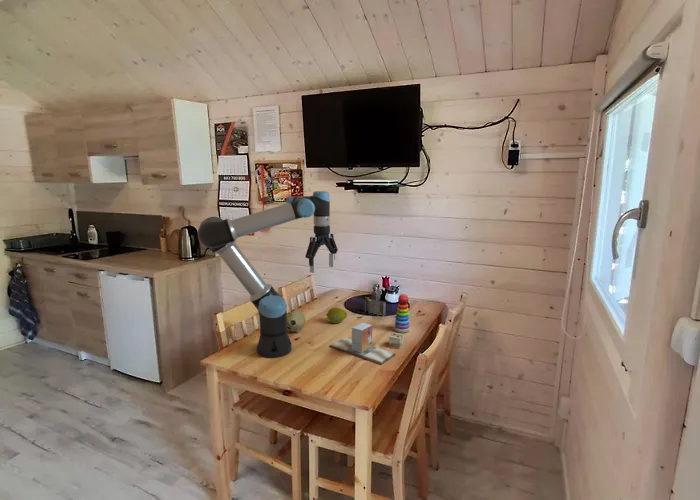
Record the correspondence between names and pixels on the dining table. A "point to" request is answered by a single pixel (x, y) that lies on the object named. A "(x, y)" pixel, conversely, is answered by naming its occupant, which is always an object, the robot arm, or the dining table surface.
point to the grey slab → (375, 306)
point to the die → (396, 340)
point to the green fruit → (336, 315)
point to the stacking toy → (402, 315)
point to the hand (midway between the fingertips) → (322, 269)
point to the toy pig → (295, 321)
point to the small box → (362, 337)
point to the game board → (370, 354)
